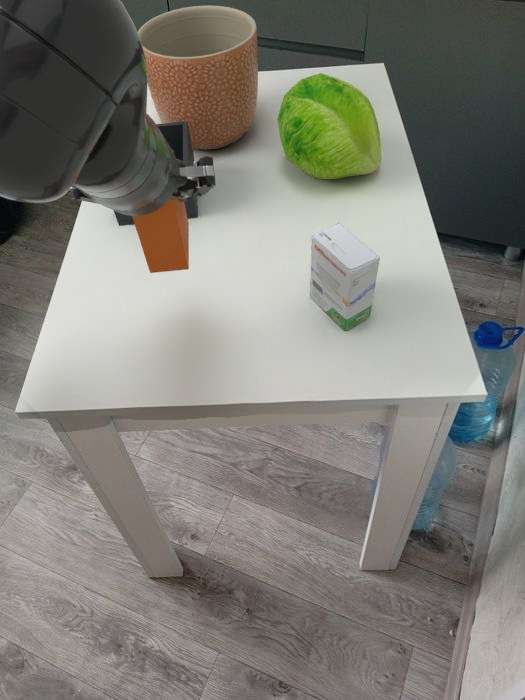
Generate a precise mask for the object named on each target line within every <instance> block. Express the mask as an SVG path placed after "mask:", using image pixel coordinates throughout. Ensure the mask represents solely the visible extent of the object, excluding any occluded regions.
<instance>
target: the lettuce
mask: <svg viewBox="0 0 525 700" xmlns="http://www.w3.org/2000/svg"><path fill="white" fill-rule="evenodd" d="M277 126H278V133H279V140H280V142H281V146H282V149H283V153H284V156H285V158H286V159H287V160H288V161H289V162H291V163H292V164H293V165H295V166H296V167H297V168H298V169H300V170H301V171H302V172H303V173H305V174H307V175H309V176H311V177H312V178H315V179H317V180H318V179H320V180H338V179H344V178H348V177H357V176H364V175H365V176H366V175H370V174H372V173H374V172H376V170H377V169H378V168H379V166H380V164H381V162H382V144H381V134H380V128H379V123H378V119H377V116H376V112H375V109H374V107H373V105H372V103H371V101H370V99H369V98H368V97H367V96H366V95H365V93H363V92H362V91H361V89H360V88H358V87H356V86H354V85H353V84H351V83H349V82H347V81H345V80H343V79H341V78H338V77H334V76H332V75H331V76H330V75H328V74H325V73H323V72H322V73H321V72H320V73H317V74H313V75H310V76H307V77H305V78H301V79H300V80H299V81H297V83H296V84H295V85H293V86H292V87H291V88H290V89H289V90H288V91H287V92H286V93H284V95H283V97H282V101H281V105H280V108H279V112H278V117H277Z"/></svg>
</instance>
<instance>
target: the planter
mask: <svg viewBox="0 0 525 700" xmlns="http://www.w3.org/2000/svg"><path fill="white" fill-rule="evenodd" d="M137 32H138V35H139V37H140V40H141V43H142V47H143V51H144V55H145V59H146V68H147V88H148V90H149V93H150V96H151V100H152V103H153V105H154V108H155V111H156V113H157V116H158V118H159V121H160V124H164V123H174V122H183V121H188V127H189V132H190V138H191V143H192V149H196V150H215V149H216V150H217V149H221V148H224V147H227V146H229V145H232V144H233V143H235V142H236V141H238V140H239V139H240V138H242V137H243V136H244V135H245V134H246V133H247V132H248V130H249V129H250V127H251V126H252V125H253V122H254V120H255V117H256V113H257V104H258V93H259V91H258V89H259V51H258V49H259V48H258V30H257V23H256V20H255V19H254V18H253V16H251V15H250V14H249V13H248V12H245V11H242V10H241V9H238V8H235V7H231V6H230V7H229V6H223V5H194V6H186V7H181V8H177V9H173V10H170V11H167V12H163V13H161V14H159V15H157V16H154V17H153V18H151V19H150V20H147V21H146V22H145V23H144V24H143V25H141V27H140V28H139V29H138V30H137Z"/></svg>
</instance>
